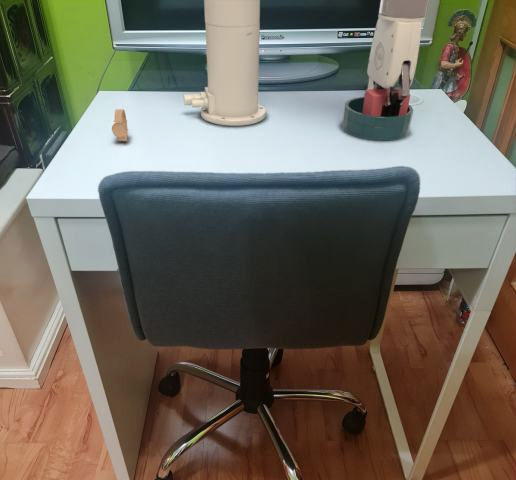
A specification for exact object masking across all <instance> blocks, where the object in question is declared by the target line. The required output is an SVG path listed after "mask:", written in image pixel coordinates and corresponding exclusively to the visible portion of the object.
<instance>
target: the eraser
mask: <svg viewBox="0 0 516 480" xmlns="http://www.w3.org/2000/svg"><path fill="white" fill-rule="evenodd" d="M386 91H387V89H370V90H368V89H365V92H364V97H365V98H364V104H363V111H362V114H366V115H372V116H381V113H382V107H383V105H385V101H386ZM397 92H398V91H392V96H393V94H394V93H397ZM410 99H411V93H409V96H407V97H406V98H405V99H404V100H403V103H402V106H400V111H399V115H404V114H406V113H407V109H408V104H409V105H410Z"/></svg>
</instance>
